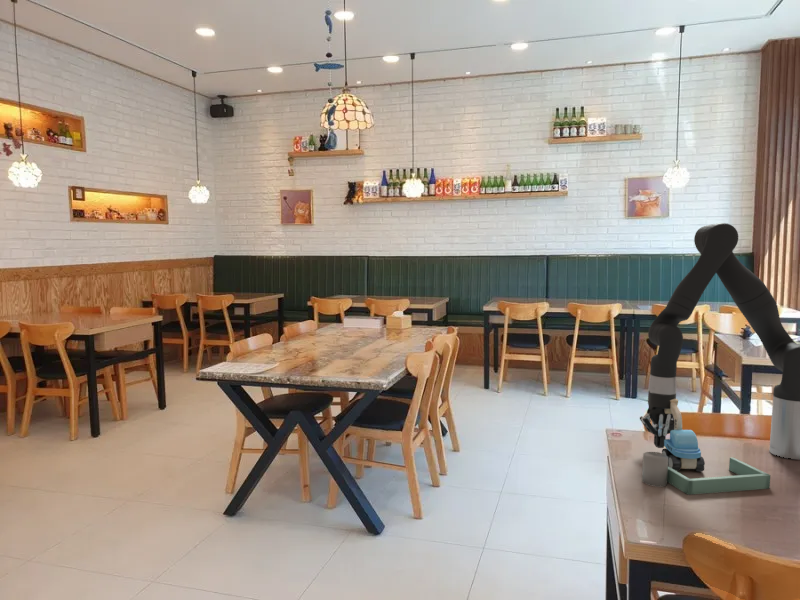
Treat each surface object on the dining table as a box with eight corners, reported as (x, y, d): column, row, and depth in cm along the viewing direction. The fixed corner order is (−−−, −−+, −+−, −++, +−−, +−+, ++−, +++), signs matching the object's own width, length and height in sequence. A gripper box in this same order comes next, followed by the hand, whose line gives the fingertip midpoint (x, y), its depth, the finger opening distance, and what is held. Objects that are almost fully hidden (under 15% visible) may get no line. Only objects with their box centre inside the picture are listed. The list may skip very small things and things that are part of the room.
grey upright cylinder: (657, 476, 157) (658, 451, 157) (671, 485, 151) (673, 459, 151) (637, 478, 156) (638, 452, 155) (650, 487, 150) (652, 460, 150)
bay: (732, 469, 163) (733, 457, 162) (769, 488, 150) (770, 475, 150) (656, 475, 158) (657, 462, 158) (687, 494, 146) (688, 481, 145)
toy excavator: (683, 453, 175) (686, 397, 174) (706, 475, 159) (710, 412, 157) (653, 452, 176) (656, 396, 174) (673, 473, 159) (676, 411, 158)
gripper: (674, 386, 179) (671, 442, 181) (634, 388, 177) (631, 444, 178) (690, 392, 172) (687, 450, 173) (649, 394, 169) (646, 452, 171)
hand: (659, 447), depth 176 cm, fingers closed
